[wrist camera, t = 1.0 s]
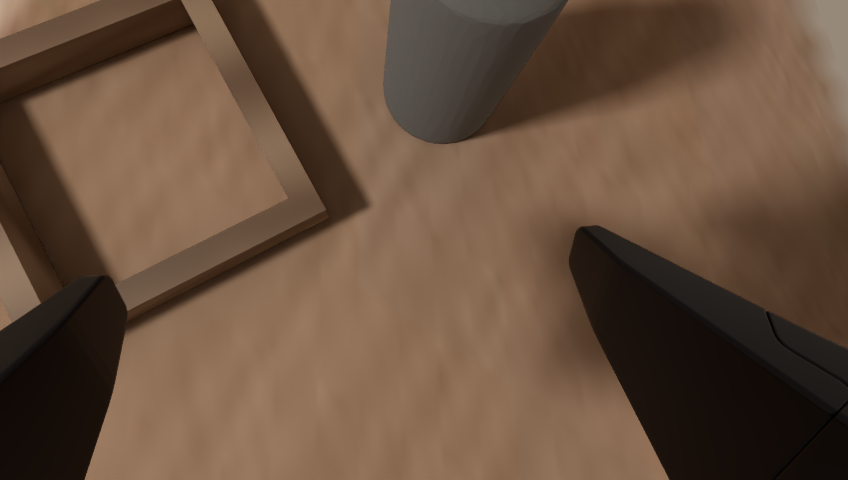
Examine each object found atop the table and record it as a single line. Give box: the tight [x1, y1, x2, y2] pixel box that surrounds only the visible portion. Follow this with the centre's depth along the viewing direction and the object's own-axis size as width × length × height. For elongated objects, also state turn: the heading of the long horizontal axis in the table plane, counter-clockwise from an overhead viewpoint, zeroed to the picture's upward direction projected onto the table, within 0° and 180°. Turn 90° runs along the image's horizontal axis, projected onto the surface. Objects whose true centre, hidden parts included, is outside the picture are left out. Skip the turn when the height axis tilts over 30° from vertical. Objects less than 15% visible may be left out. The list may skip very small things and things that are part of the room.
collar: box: [0, 0, 329, 323], centre depth 21 cm, size 13×13×2 cm
